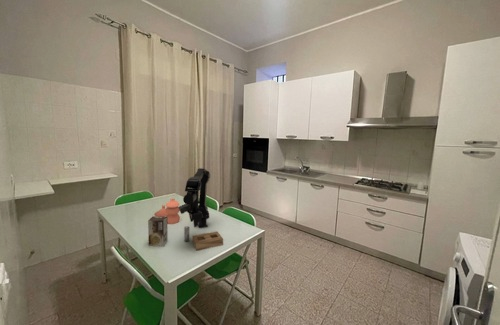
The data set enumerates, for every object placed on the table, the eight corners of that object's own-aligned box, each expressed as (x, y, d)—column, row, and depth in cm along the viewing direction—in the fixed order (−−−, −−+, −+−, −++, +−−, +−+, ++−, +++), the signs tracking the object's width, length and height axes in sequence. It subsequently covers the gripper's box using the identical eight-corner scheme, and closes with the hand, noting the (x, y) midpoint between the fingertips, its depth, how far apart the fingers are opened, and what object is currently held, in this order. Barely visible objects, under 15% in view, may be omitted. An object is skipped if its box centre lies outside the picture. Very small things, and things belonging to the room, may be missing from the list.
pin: (183, 240, 126) (184, 226, 125) (188, 239, 127) (188, 226, 127) (184, 242, 123) (184, 228, 122) (189, 242, 125) (189, 228, 124)
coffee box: (168, 241, 124) (168, 216, 122) (163, 247, 118) (163, 220, 116) (152, 241, 124) (152, 215, 122) (148, 246, 117) (147, 220, 116)
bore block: (192, 241, 125) (192, 235, 125) (217, 237, 132) (217, 231, 132) (196, 250, 115) (196, 243, 115) (222, 245, 123) (223, 238, 122)
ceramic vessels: (146, 214, 167) (145, 192, 165) (171, 210, 181) (171, 189, 179) (160, 229, 141) (160, 203, 139) (188, 222, 155) (189, 198, 153)
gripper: (176, 196, 125) (176, 220, 127) (182, 205, 109) (182, 233, 111) (194, 194, 131) (194, 218, 132) (203, 203, 115) (202, 229, 116)
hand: (193, 224), depth 123 cm, fingers open, 9 cm apart
